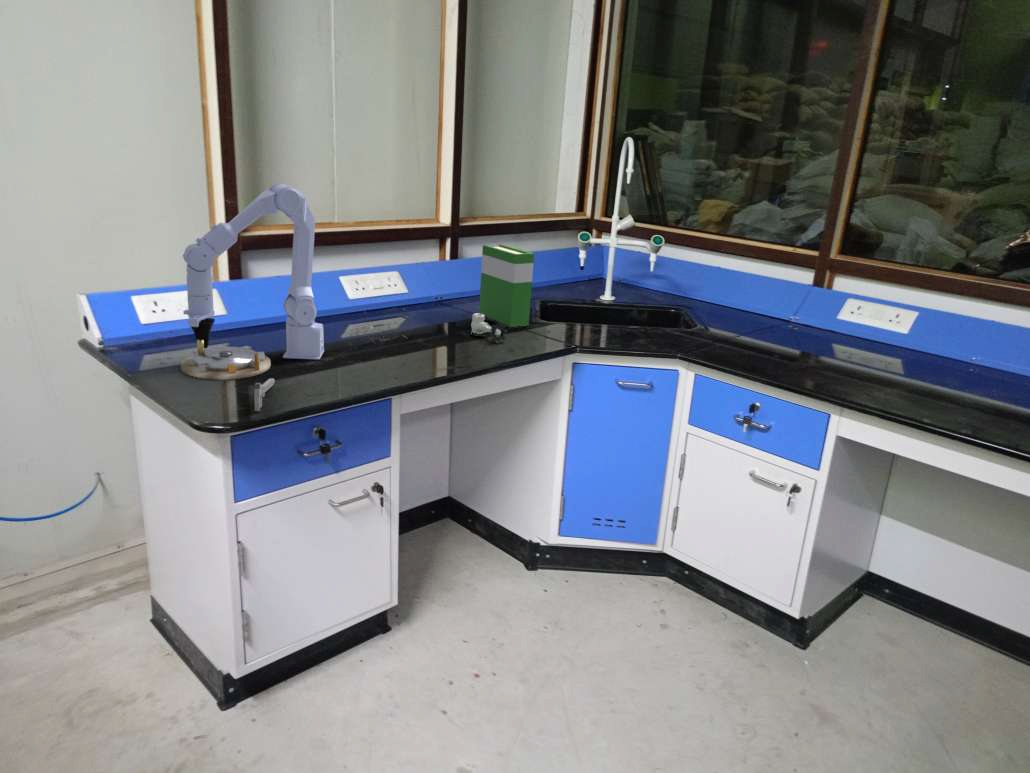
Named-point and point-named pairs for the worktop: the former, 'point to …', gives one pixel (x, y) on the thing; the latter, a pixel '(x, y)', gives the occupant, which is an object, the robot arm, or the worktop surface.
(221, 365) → the sprocket
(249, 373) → the mounting board
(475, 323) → the valve
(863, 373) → the worktop surface
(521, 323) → the hardback book
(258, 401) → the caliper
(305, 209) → the robot arm
